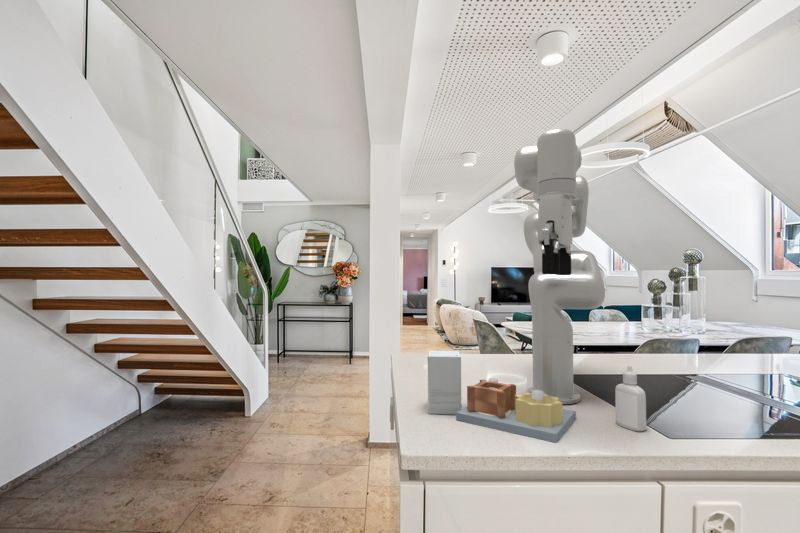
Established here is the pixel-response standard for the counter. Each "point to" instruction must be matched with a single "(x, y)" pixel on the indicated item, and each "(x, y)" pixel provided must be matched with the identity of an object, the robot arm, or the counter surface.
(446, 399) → the supplement box
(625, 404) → the eye dropper bottle
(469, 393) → the brown open boxy piece
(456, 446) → the counter surface
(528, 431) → the gear board
